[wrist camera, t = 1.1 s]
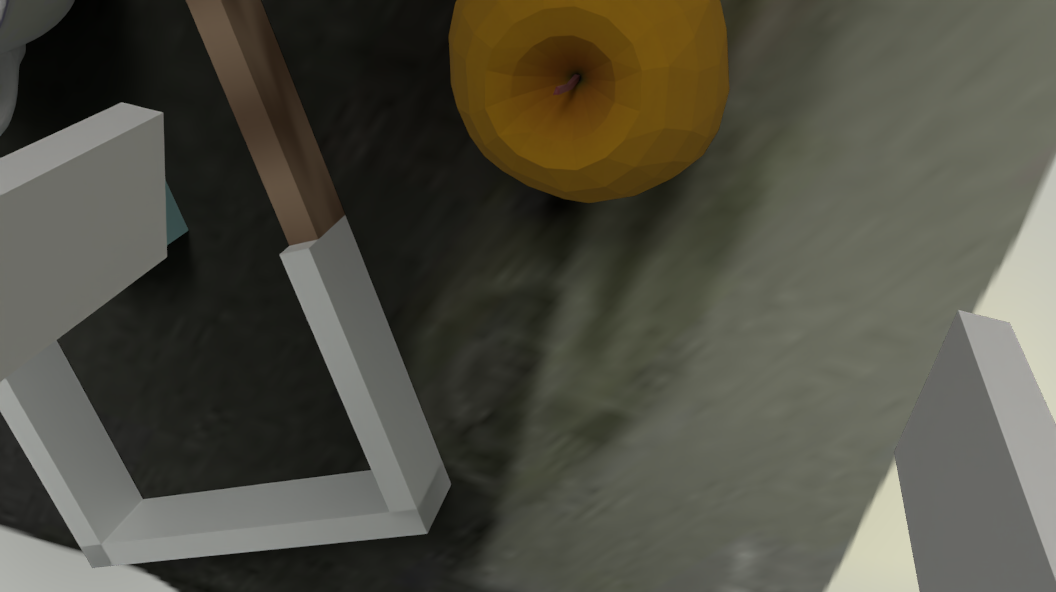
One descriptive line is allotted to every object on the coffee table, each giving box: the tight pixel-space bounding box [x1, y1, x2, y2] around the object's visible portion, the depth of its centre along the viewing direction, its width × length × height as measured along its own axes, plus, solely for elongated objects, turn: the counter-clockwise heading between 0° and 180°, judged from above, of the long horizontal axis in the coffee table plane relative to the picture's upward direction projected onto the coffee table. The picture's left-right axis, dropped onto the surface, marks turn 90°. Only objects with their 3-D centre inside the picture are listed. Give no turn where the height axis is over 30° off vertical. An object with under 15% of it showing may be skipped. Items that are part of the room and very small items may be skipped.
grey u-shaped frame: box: [0, 216, 451, 568], centre depth 49 cm, size 16×21×4 cm
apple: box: [449, 0, 729, 203], centre depth 33 cm, size 10×10×12 cm
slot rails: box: [186, 0, 345, 246], centre depth 44 cm, size 12×21×3 cm, turn 108°
